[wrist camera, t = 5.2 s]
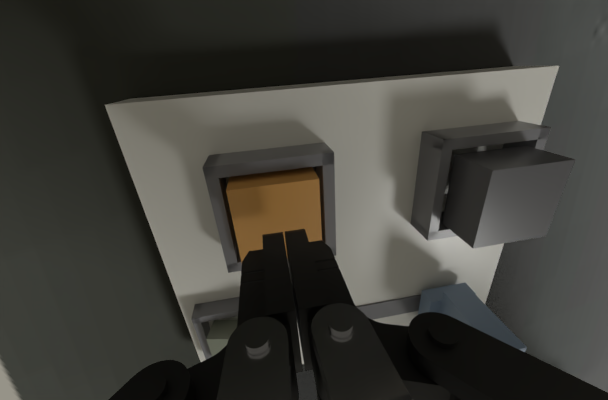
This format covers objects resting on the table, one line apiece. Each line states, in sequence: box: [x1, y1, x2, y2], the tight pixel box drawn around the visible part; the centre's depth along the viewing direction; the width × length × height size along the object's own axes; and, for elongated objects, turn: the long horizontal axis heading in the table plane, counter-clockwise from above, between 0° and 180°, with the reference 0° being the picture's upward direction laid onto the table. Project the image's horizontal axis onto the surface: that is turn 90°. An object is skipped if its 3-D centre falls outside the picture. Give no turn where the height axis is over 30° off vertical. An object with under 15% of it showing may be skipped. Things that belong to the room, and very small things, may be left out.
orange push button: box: [226, 167, 322, 263], centre depth 12 cm, size 4×4×2 cm
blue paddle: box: [418, 283, 527, 352], centre depth 16 cm, size 3×4×5 cm
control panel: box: [105, 66, 559, 364], centre depth 16 cm, size 20×18×4 cm
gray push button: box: [442, 146, 575, 248], centre depth 12 cm, size 4×4×2 cm
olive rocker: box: [206, 320, 238, 356], centre depth 15 cm, size 4×3×1 cm
